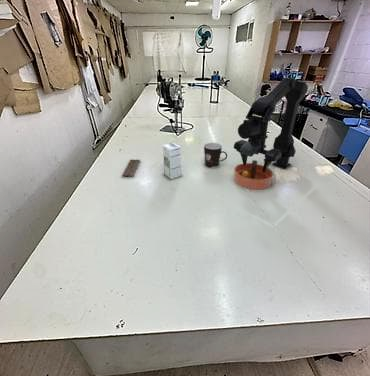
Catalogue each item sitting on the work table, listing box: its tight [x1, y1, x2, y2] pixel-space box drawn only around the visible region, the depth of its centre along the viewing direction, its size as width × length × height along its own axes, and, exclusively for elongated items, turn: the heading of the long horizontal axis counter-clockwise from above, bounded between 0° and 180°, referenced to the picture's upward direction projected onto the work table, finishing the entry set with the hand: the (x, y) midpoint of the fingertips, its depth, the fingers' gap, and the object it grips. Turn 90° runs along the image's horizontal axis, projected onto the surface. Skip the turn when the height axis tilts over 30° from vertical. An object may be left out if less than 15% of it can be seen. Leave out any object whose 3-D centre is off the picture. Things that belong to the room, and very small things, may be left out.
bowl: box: [233, 162, 274, 191], centre depth 100 cm, size 16×16×5 cm
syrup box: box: [162, 142, 182, 180], centre depth 103 cm, size 6×6×14 cm
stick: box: [250, 159, 258, 179], centre depth 99 cm, size 2×2×9 cm
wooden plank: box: [122, 158, 141, 177], centre depth 111 cm, size 17×1×5 cm
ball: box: [242, 171, 249, 178], centre depth 103 cm, size 3×3×3 cm
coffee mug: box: [203, 142, 228, 169], centre depth 113 cm, size 12×9×10 cm
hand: (253, 168), depth 99 cm, fingers open, 9 cm apart
